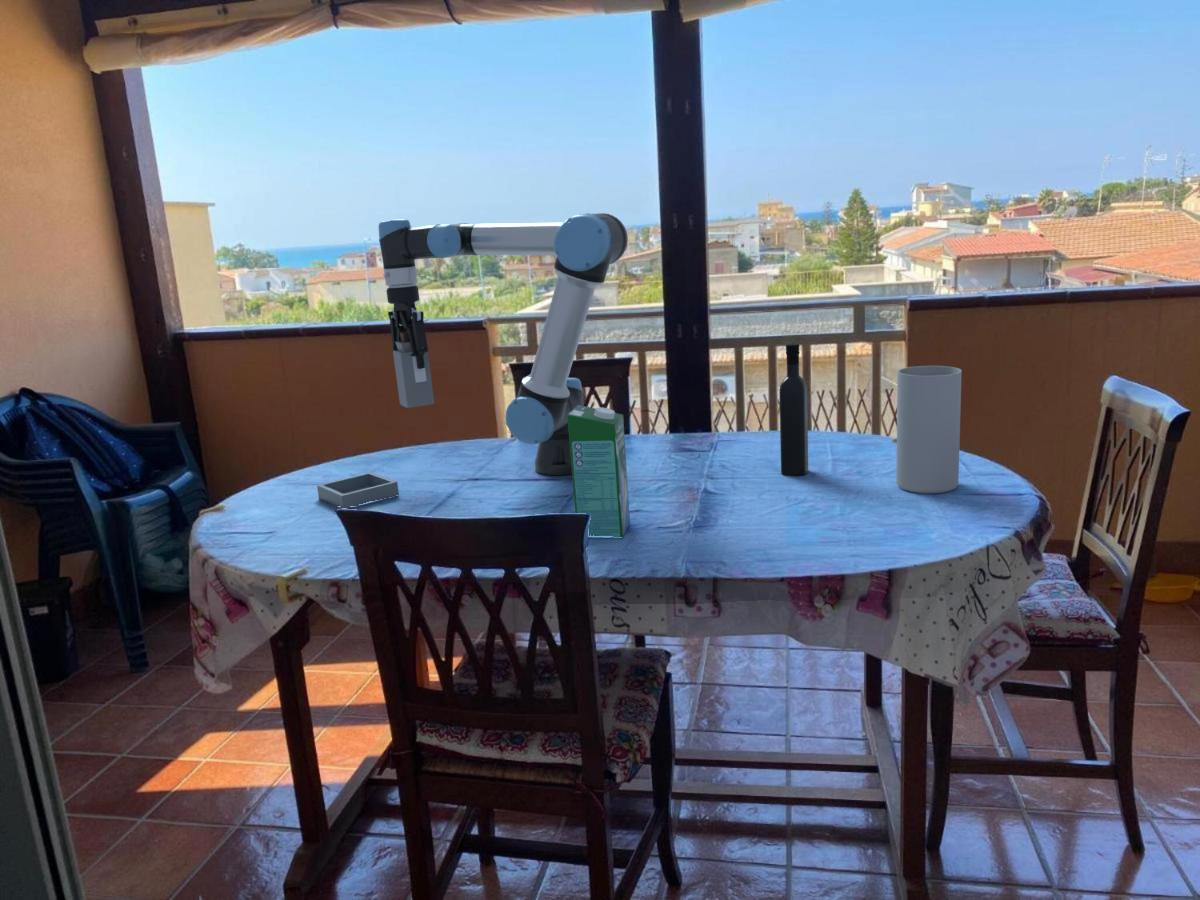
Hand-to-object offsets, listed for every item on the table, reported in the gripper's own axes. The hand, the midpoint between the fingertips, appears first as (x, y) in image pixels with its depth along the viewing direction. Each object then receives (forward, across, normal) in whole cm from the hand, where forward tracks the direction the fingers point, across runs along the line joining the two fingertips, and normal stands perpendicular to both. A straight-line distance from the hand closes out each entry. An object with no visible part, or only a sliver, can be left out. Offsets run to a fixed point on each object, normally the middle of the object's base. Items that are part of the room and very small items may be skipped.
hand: (414, 380), depth 222 cm
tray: (+25, +2, -19) cm, 32 cm away
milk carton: (+26, +66, +3) cm, 71 cm away
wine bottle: (+26, +70, +58) cm, 95 cm away
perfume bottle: (+6, 0, 0) cm, 6 cm away
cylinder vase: (+27, +100, +66) cm, 122 cm away
